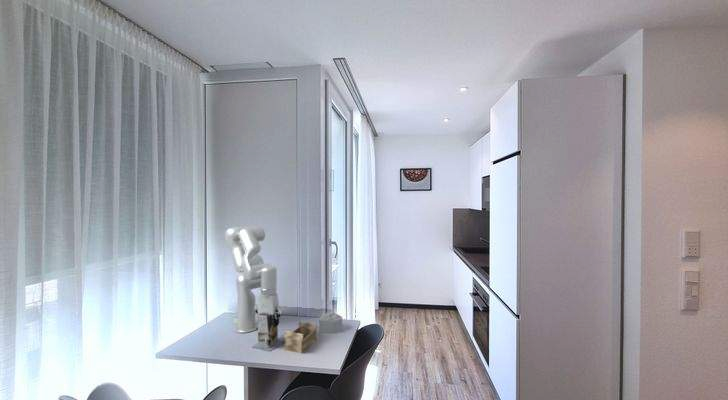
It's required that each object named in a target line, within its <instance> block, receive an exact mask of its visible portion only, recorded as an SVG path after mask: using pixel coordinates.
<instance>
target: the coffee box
mask: <svg viewBox="0 0 728 400" xmlns="http://www.w3.org/2000/svg"><path fill="white" fill-rule="evenodd" d="M276 316H277V315H276ZM274 319H275V318H274V316H273V315H272V316H271V315H269V314H261V313H260V314H259V315H258V316H257V324H258V328H257V331H258V332H257V343H258V347H264V348H269V347H270V346H272V345H273V344H274V343H275V342H276V341H277V340H279V325H278V326H276V327H274Z"/></svg>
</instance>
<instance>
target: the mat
mask: <svg viewBox="0 0 728 400" xmlns="http://www.w3.org/2000/svg"><path fill="white" fill-rule="evenodd" d="M283 343H285V340H282V339H278V340H277V341H276V342H275V343H274V344H273V345H272V346H270V347H269V348H264V347H258V342H257V343H256V344H255V345H253V346H251V347H252V348H254V349H258V350H261V351H267V352H268V351H269V352H272V351H273V350H275V349H276V348H277V347H279V346H281V344H283Z"/></svg>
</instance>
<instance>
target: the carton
mask: <svg viewBox="0 0 728 400" xmlns="http://www.w3.org/2000/svg"><path fill="white" fill-rule="evenodd" d="M316 342H317V323H311V322H307V321H306V322H305V321H300V320H299V321H298V327H297V328H296V329H295V330H293V331H288V330H284V350H285V351H289V352H294V353H299V354H304V353H305V352H307V351H308V349H309V348H311V347H312V346H313V345H314V344H315V343H316Z"/></svg>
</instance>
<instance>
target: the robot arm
mask: <svg viewBox="0 0 728 400" xmlns="http://www.w3.org/2000/svg"><path fill="white" fill-rule="evenodd" d="M224 237H225V238H224V239H225V243H226V245H227V247H228V249H229V251H230V253H231V257H232V261H233V265H234V268H235V270H236V272H237V273H240V274H239V275H237V277H236V279H235V286H236V290H237V291H236V292H237V318H235V319H233V322H232V324H235V327H234V331H235V333H239V334H246V333H252V332H254V331H256V330H258V322H256V316H257V317H258V315H259V314H260V313H261V314H269V315H271V316H272V315H273V316H274V318H275V319H274V327H276V326H278V327H279V323H280V317H281V316H282V315H283V314H284V309H282V307H280V305H279V297H278V296H279V295H278V293H277V284H278V283H277V279H278V278H277V276H278V275H277V273H278V272H277V271H278V270H277V268H276V267H275V266H274V265H272V264H270V263H269V262H267V263H265V262H264V260H263V257H262V256H261V255H259V253H260V252H261V250H262V246H261V245H260V242H263V241H265V239H266V231H265V230H264V229H263V228H262V227H260V226H254V225H252V226H251V225H249V226H248V225H247V226H235V227H230V228H228V229H227V230H225V234H224ZM241 273H242V274H241ZM256 289H259V291H260V293H259V295H258V300H257V304H256V294H255V293H254V292H253V291H252V290H256ZM276 315H277V316H276Z"/></svg>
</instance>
